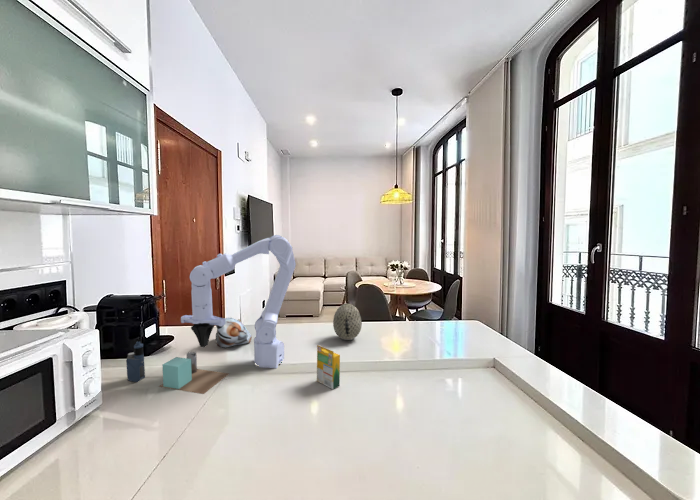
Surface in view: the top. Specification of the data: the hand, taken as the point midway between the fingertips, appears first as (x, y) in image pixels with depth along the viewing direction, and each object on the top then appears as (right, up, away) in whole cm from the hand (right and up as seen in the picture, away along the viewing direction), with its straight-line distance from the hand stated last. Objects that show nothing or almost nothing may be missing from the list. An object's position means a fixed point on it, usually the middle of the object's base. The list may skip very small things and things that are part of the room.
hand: (204, 345), depth 102 cm
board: (0, -10, -5) cm, 11 cm away
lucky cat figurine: (+1, -7, +25) cm, 26 cm away
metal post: (-4, -9, 0) cm, 10 cm away
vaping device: (-19, -9, -4) cm, 21 cm away
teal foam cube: (-4, -9, -7) cm, 12 cm away
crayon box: (+40, -10, -4) cm, 41 cm away
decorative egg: (+45, -7, +31) cm, 55 cm away
